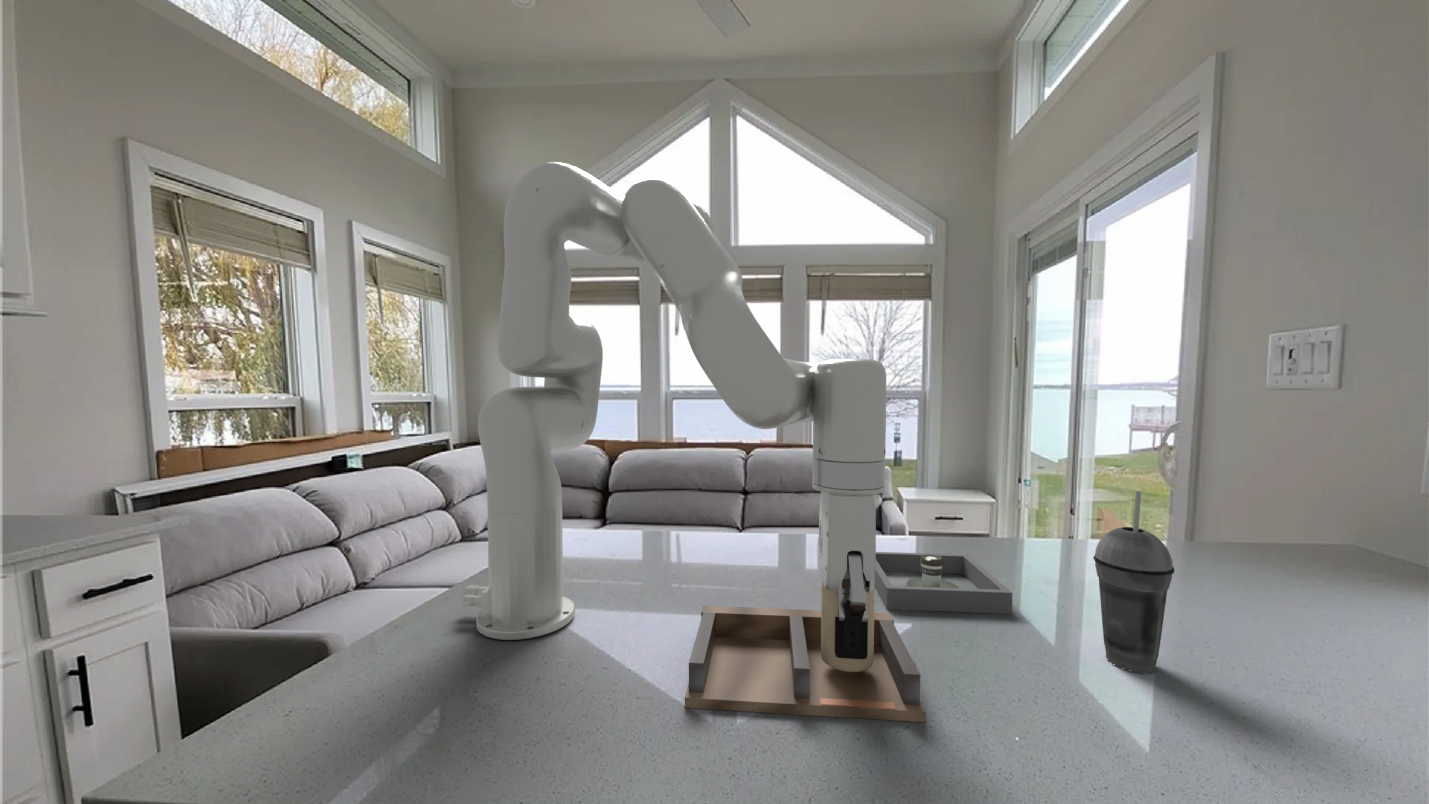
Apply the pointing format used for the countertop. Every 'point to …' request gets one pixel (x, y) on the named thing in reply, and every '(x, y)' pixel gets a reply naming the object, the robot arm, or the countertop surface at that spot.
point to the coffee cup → (931, 573)
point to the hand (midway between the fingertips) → (846, 640)
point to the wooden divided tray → (796, 668)
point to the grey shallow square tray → (979, 600)
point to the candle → (828, 632)
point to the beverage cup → (1133, 594)
